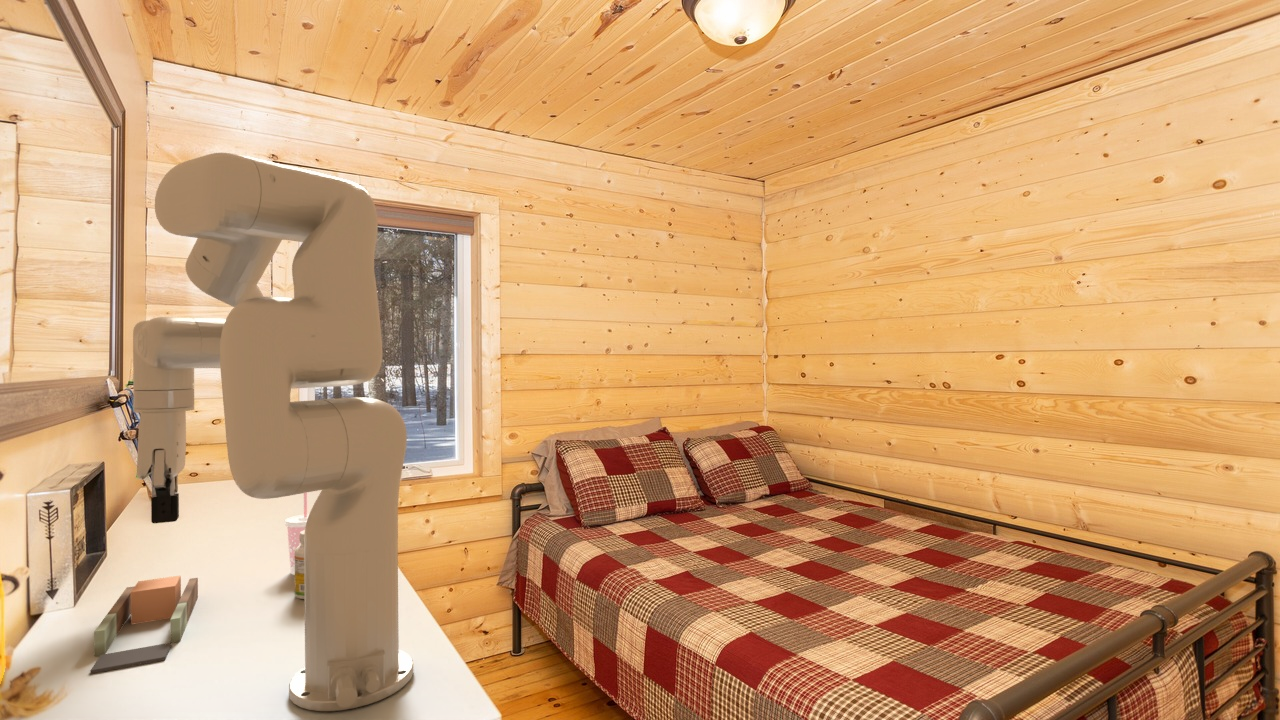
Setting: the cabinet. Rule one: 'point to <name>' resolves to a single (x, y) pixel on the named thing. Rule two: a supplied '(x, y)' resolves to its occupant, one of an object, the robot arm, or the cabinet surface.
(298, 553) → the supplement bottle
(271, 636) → the cabinet surface
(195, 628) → the cabinet surface
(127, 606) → the pair of guide rails
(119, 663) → the thin dark grey plate
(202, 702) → the cabinet surface
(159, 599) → the block
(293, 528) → the beverage cup
